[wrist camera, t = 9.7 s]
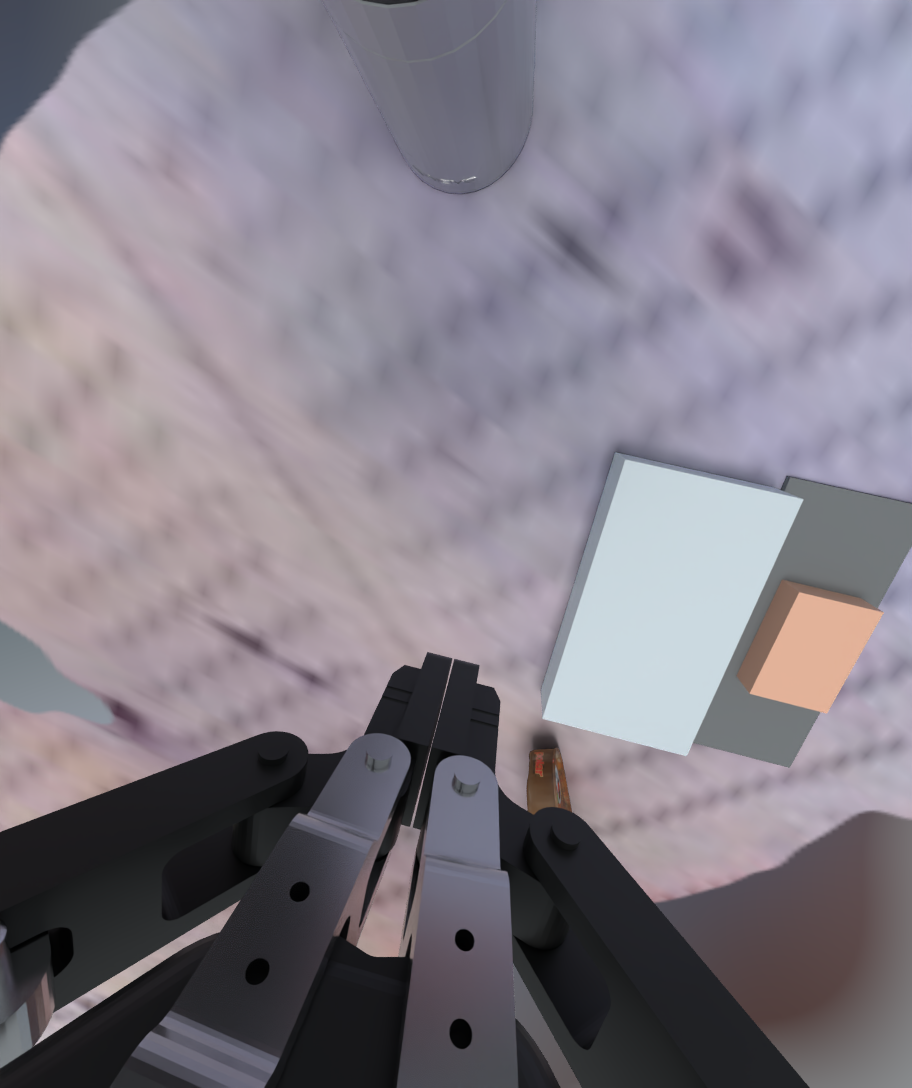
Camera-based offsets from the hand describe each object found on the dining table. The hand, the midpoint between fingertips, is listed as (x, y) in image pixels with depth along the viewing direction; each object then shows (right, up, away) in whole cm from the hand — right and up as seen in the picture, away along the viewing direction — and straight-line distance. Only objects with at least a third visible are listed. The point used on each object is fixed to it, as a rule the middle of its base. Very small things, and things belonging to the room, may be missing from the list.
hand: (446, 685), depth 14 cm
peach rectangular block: (+27, -4, +23) cm, 36 cm away
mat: (+27, -3, +26) cm, 38 cm away
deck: (+16, -1, +27) cm, 31 cm away
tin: (+10, -20, +34) cm, 41 cm away
